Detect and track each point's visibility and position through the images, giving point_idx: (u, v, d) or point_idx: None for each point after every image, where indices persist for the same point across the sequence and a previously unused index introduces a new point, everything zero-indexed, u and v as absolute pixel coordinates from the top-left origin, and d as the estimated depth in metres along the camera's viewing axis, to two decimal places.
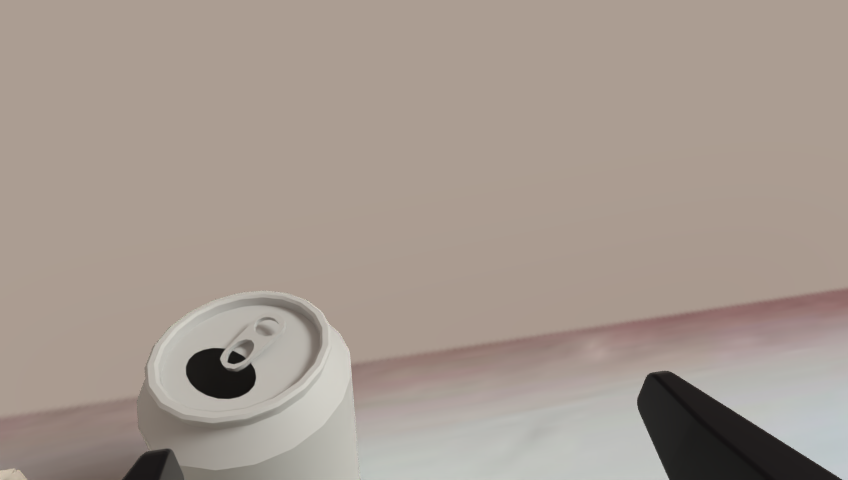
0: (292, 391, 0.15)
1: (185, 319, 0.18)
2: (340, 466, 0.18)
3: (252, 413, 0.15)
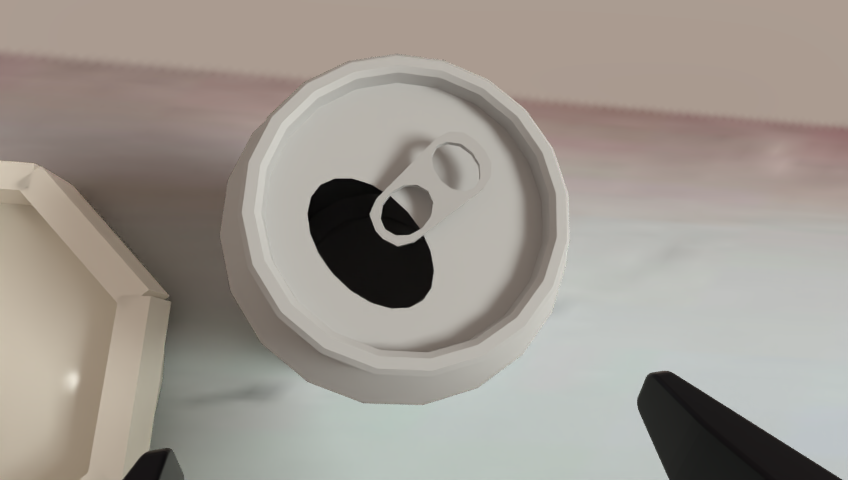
0: (507, 337, 0.09)
1: (299, 104, 0.09)
2: None
3: (442, 370, 0.08)
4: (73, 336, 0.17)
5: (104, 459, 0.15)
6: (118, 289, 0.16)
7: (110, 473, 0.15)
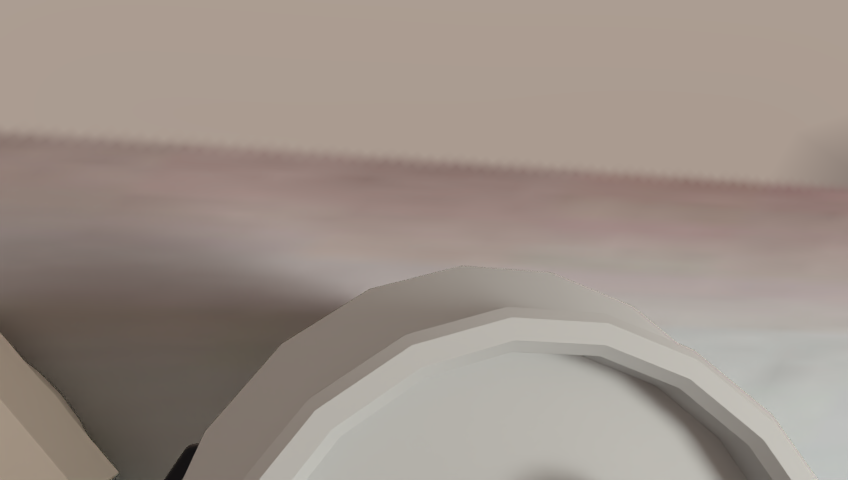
0: None
1: (296, 468, 0.04)
2: None
3: None
4: None
5: None
6: None
7: None
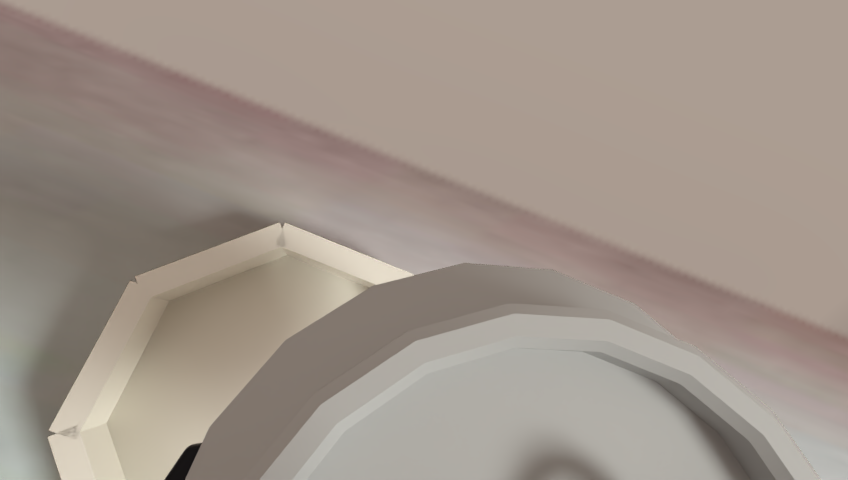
0: None
1: (302, 461, 0.04)
2: None
3: None
4: None
5: None
6: None
7: None
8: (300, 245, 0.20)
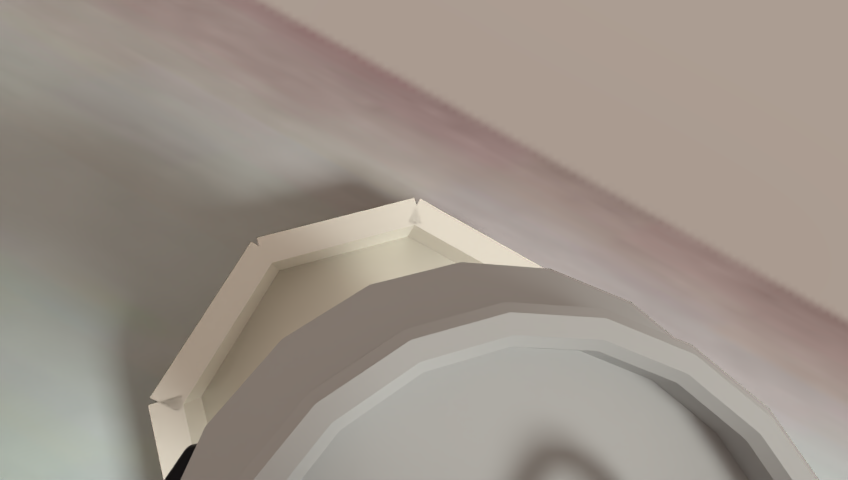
0: None
1: (296, 461, 0.04)
2: None
3: None
4: None
5: None
6: None
7: None
8: (435, 226, 0.18)
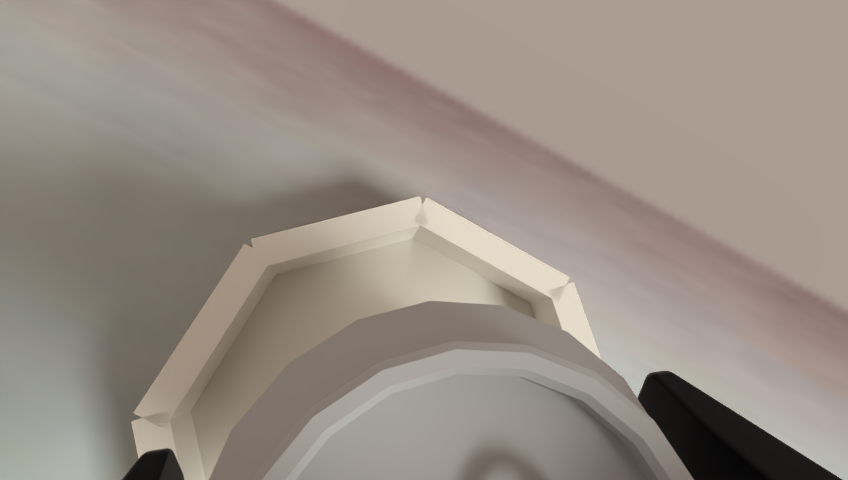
0: None
1: (299, 457, 0.05)
2: None
3: None
4: None
5: None
6: None
7: None
8: (442, 226, 0.17)
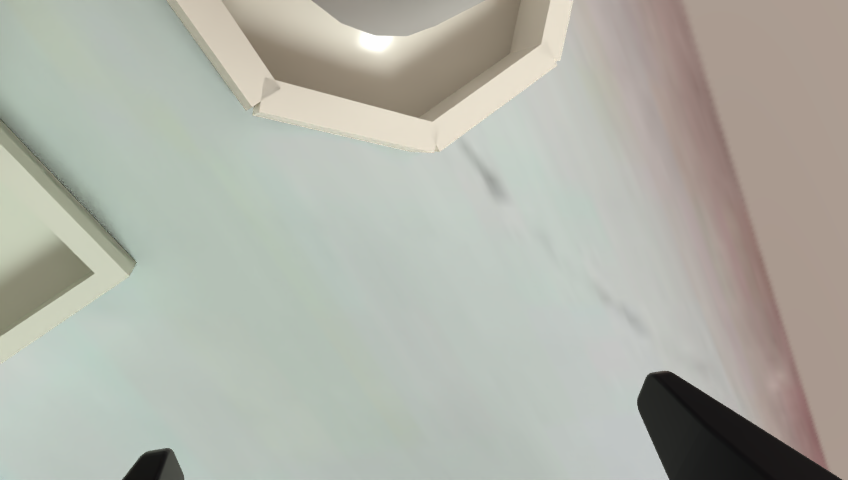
0: None
1: None
2: None
3: None
4: (464, 15, 0.18)
5: (446, 126, 0.17)
6: (549, 37, 0.18)
7: (440, 138, 0.17)
8: None
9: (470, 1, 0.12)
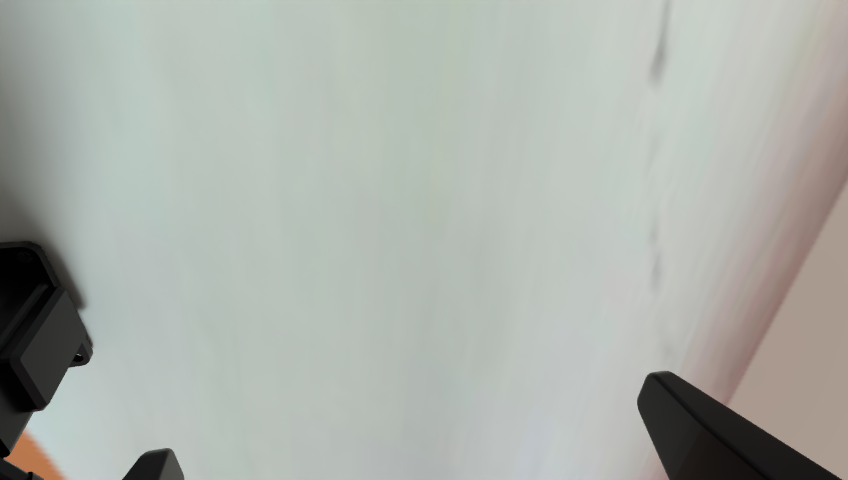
0: None
1: None
2: None
3: None
4: None
5: None
6: None
7: None
8: None
9: None
